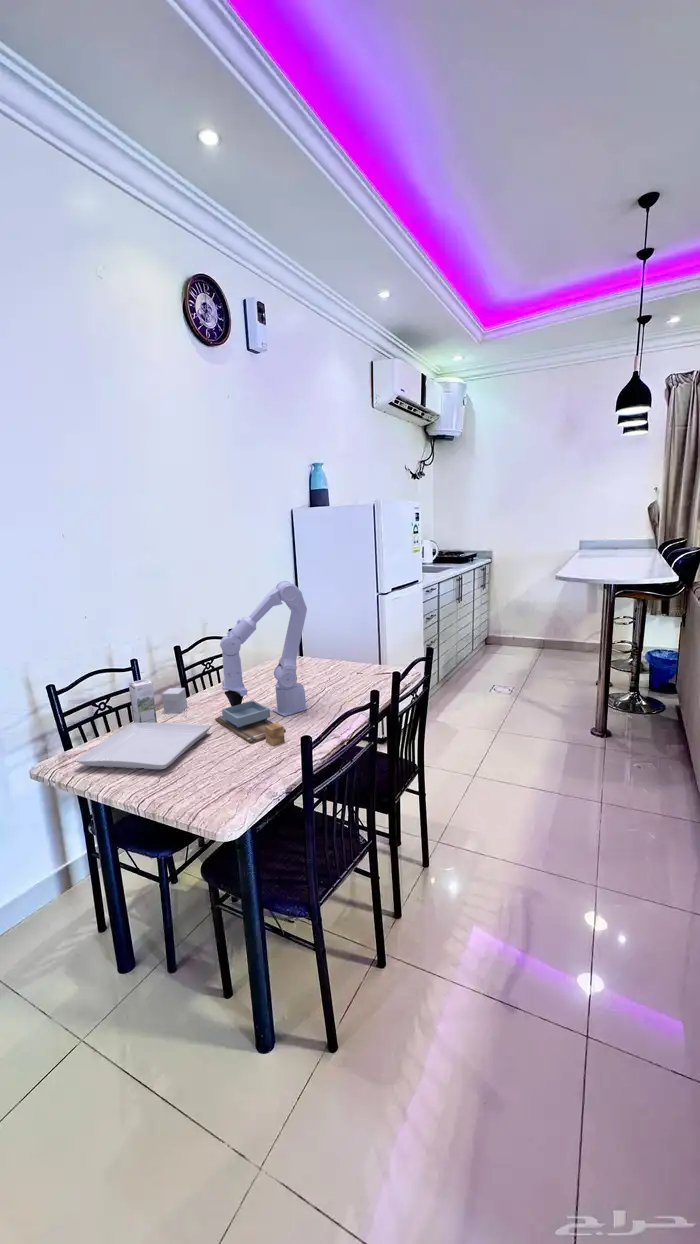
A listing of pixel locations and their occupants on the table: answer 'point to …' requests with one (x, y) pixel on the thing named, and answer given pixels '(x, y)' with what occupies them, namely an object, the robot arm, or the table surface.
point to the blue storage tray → (246, 713)
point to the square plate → (145, 745)
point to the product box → (174, 700)
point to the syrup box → (142, 701)
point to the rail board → (247, 729)
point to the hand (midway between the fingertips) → (236, 711)
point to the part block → (274, 734)
